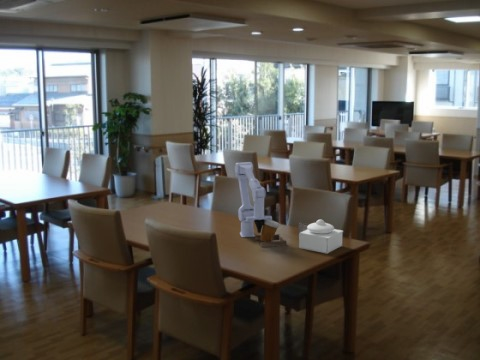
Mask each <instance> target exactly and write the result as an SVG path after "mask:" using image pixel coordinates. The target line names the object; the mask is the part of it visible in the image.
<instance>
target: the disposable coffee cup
mask: <svg viewBox="0 0 480 360" xmlns="http://www.w3.org/2000/svg"><path fill="white" fill-rule="evenodd" d="M279 227H280V223H279V222H277V221H275V220H273V219H272V220H264V224H263V226H262V229H261V233H260V235H261V237H260V240H259V241H261V242H273V240H274V239H273V237H274V234H276V232H277V230H278V228H279Z"/></svg>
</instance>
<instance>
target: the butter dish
mask: <svg viewBox="0 0 480 360" xmlns="http://www.w3.org/2000/svg"><path fill="white" fill-rule="evenodd" d="M343 233H344V230H341V229H336V228H335V226H334V225H333V224H332V223H328V222H326V221H324V220H323V219H318V220H316V222H312V223H309V225H308V226H307V230H305V231H303V232H300V234H299V235H298V248H299V249H302V250H307V251H313V252H318V253H322V254H329V253H332V252H333V251H335V250H338V248H340V247H343Z"/></svg>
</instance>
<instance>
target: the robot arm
mask: <svg viewBox="0 0 480 360" xmlns="http://www.w3.org/2000/svg"><path fill="white" fill-rule="evenodd" d="M233 168H234V173H235V178H237V181H238V185H239V192H240V199H241V201H240V202H241V206H240V207H239V208H238V209H237V213H238V214H237V216H238V217H237V218H238V220H239V221H240V222H241V223H240V232H239V235H240V236H241V237H242V238H254V237H255V238H256V234H254V224H255V227H256V230H257V234H261V232H262V227H263V224H264V220H273V217H272V215H265V198H266V197H267V191H266V188H265V187H263V186H262V185H261V183H260V181H259V179H258V178H256V177H255V175H254V171H253V170H254V164H253V163H252V162H251V161H246V162H236V163H235V164H234V167H233ZM248 185H249V186H248ZM249 187H250V189H251V191H252V192H251V194H252V195H251V196H252V201H253V205H252V204H251V200H250V193H249Z"/></svg>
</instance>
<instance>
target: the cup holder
mask: <svg viewBox="0 0 480 360" xmlns="http://www.w3.org/2000/svg"><path fill="white" fill-rule="evenodd" d="M260 237H261V234H259V235H256V234H255V240H256V241H261V240H260ZM273 240H274V241H273ZM276 240H277V241H276ZM283 246H285V247H286V246H287V240H286V239H285V238H284V237H283V236H282V235H281V234H280V233H275V234H274V237H273V239H272V241H271V242H263V241H261V242H260V248H266V247H267V248H268V247H283Z"/></svg>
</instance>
